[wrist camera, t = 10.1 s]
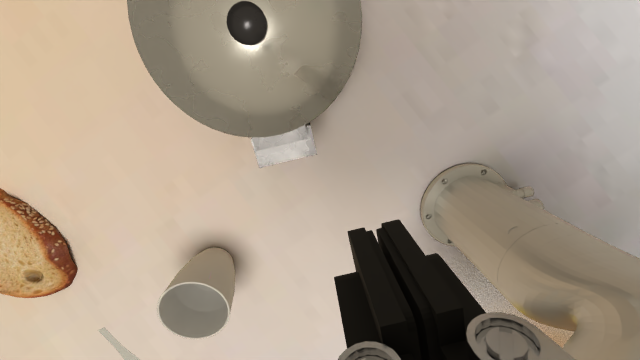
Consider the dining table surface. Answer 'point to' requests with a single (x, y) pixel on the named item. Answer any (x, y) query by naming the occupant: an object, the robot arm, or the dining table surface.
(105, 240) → the dining table surface
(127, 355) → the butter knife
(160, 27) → the lid
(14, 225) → the slice of bread
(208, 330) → the cup
